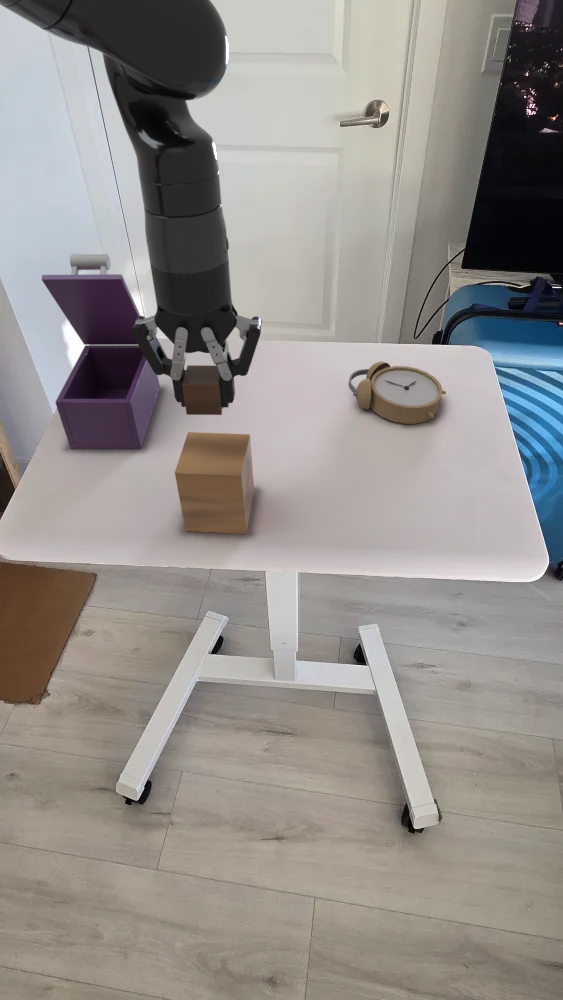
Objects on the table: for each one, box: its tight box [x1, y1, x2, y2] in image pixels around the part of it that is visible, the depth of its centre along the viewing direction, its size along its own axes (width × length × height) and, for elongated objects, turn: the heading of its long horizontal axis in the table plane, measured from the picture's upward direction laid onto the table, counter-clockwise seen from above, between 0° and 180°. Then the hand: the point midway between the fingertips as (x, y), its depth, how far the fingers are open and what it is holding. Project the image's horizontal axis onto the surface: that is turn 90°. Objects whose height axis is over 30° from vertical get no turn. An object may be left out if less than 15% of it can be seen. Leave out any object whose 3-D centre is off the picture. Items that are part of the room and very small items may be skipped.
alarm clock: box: [348, 361, 447, 425], centre depth 99 cm, size 11×5×15 cm
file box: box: [54, 345, 161, 450], centre depth 96 cm, size 16×11×8 cm
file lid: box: [41, 253, 141, 346], centre depth 92 cm, size 17×11×5 cm
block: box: [182, 364, 224, 416], centre depth 70 cm, size 4×4×4 cm
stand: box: [174, 431, 255, 535], centre depth 80 cm, size 8×8×10 cm
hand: (206, 402), depth 71 cm, fingers closed on block, 4 cm apart
